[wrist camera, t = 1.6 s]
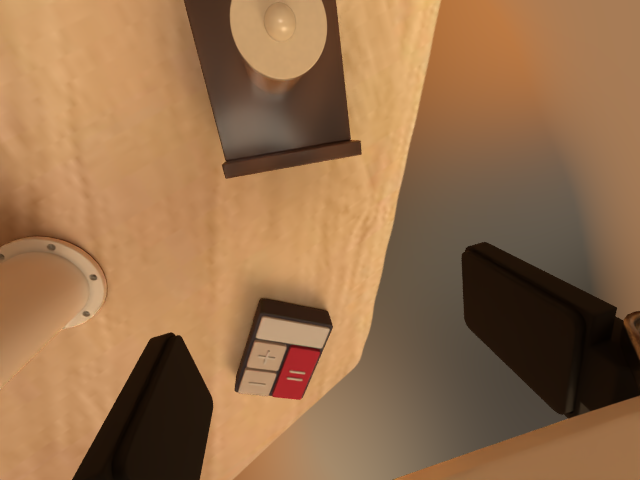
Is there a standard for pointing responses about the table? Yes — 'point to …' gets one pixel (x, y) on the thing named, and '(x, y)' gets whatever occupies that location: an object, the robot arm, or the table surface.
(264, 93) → the shelf
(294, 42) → the canister
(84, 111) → the table surface
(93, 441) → the robot arm
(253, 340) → the calculator
